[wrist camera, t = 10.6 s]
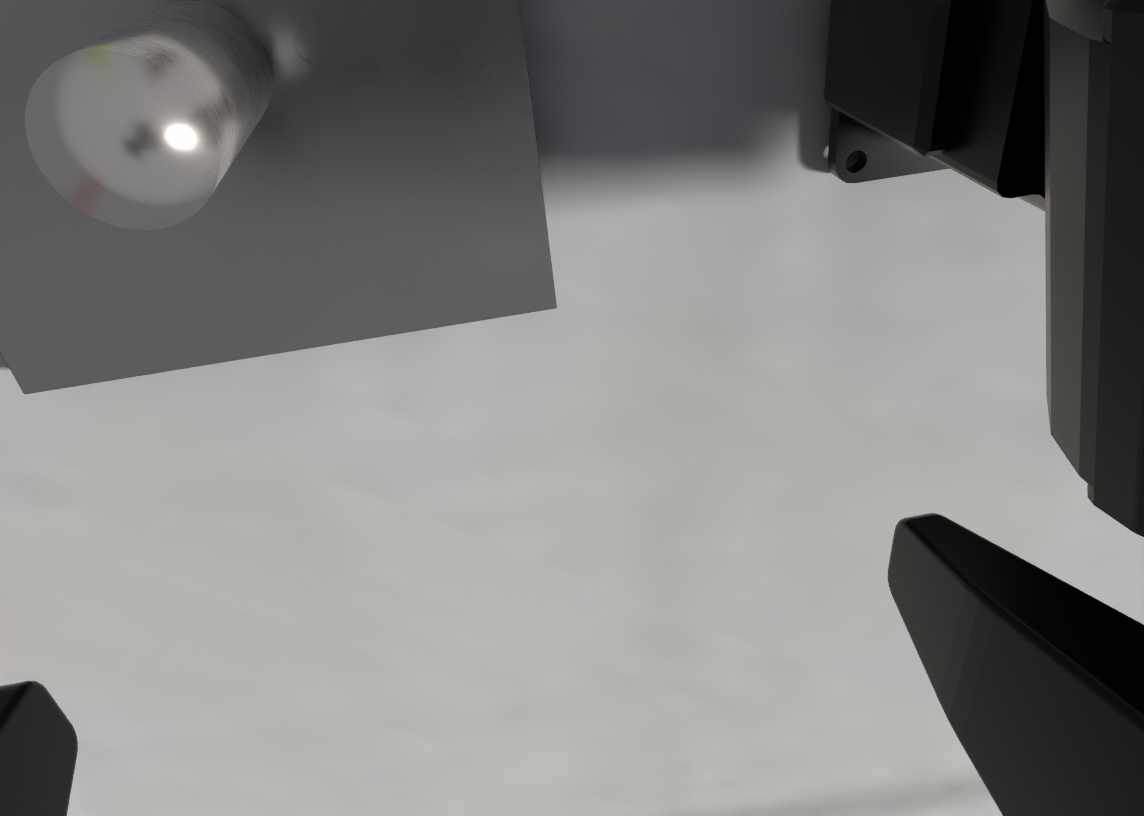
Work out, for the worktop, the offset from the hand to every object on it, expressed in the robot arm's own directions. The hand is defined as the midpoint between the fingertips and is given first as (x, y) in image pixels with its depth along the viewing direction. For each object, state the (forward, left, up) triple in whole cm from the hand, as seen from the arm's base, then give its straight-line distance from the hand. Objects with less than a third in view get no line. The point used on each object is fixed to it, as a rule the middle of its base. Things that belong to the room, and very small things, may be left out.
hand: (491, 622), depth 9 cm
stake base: (+4, -4, -12) cm, 13 cm away
